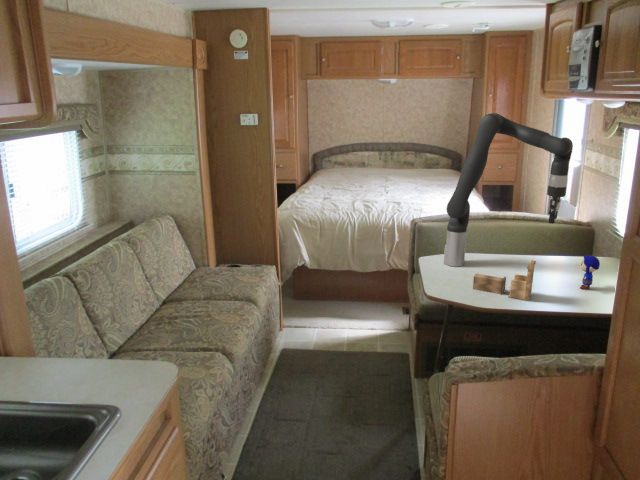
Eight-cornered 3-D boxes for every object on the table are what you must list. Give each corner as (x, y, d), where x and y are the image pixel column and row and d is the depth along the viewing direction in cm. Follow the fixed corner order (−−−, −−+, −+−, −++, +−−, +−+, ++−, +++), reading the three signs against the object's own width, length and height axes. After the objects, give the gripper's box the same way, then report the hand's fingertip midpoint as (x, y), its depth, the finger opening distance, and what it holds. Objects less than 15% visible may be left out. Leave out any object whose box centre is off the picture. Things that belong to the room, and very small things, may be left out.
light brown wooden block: (472, 289, 238) (473, 274, 236) (475, 286, 242) (476, 271, 240) (502, 294, 232) (504, 279, 230) (504, 291, 235) (506, 276, 234)
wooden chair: (507, 297, 229) (511, 264, 224) (512, 290, 236) (515, 257, 232) (527, 301, 225) (531, 267, 221) (532, 294, 232) (535, 260, 228)
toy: (580, 282, 246) (585, 250, 241) (599, 286, 241) (603, 253, 237) (573, 290, 236) (578, 258, 231) (592, 294, 231) (597, 261, 227)
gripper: (550, 181, 243) (545, 216, 248) (545, 186, 232) (541, 223, 236) (568, 182, 240) (563, 218, 245) (564, 188, 228) (559, 225, 233)
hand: (552, 221), depth 240 cm, fingers open, 8 cm apart
